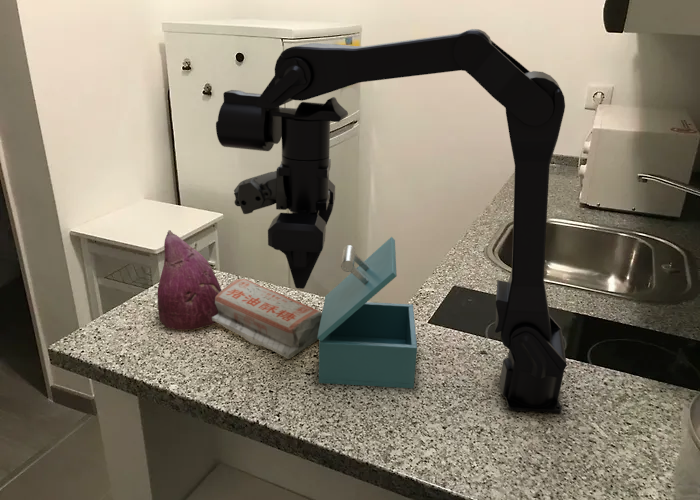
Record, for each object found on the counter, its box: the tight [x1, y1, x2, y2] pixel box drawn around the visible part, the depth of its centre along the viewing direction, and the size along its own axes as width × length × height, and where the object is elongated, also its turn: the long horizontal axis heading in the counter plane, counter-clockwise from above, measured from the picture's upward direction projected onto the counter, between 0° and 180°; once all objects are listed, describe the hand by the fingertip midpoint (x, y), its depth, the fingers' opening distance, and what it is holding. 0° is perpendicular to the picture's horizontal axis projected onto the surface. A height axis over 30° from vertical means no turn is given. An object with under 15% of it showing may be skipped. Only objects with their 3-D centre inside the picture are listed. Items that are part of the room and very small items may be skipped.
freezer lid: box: [317, 236, 398, 341], centre depth 76 cm, size 13×11×5 cm
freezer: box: [318, 301, 418, 389], centre depth 80 cm, size 12×11×6 cm
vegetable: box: [156, 230, 223, 331], centre depth 89 cm, size 10×10×15 cm
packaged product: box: [212, 278, 322, 360], centre depth 87 cm, size 18×5×10 cm
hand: (304, 271), depth 76 cm, fingers open, 9 cm apart
